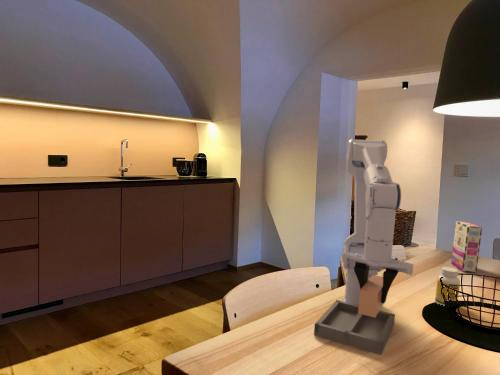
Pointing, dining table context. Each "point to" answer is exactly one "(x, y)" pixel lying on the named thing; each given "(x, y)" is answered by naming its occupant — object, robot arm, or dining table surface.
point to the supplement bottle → (449, 280)
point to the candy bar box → (466, 246)
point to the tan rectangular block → (371, 297)
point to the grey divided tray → (355, 327)
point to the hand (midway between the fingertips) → (373, 299)
